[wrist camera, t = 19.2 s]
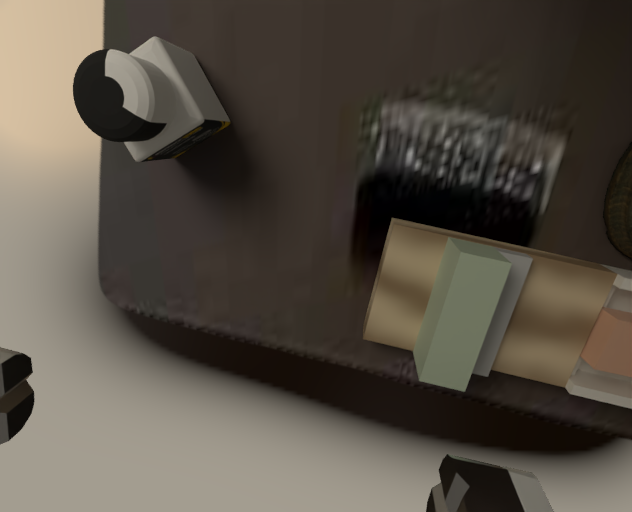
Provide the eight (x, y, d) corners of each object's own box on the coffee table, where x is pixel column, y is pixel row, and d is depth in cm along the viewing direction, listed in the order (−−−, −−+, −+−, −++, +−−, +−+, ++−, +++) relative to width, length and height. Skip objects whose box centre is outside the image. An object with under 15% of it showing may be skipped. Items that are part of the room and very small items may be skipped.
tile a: (596, 305, 37) (618, 319, 34) (648, 316, 37) (674, 332, 34) (575, 351, 39) (594, 369, 36) (624, 362, 39) (647, 380, 36)
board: (392, 217, 39) (394, 223, 36) (598, 263, 38) (617, 273, 35) (363, 325, 43) (363, 338, 40) (551, 370, 42) (564, 387, 39)
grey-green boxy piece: (448, 236, 36) (460, 252, 31) (526, 253, 36) (551, 272, 31) (413, 351, 40) (419, 380, 35) (483, 368, 39) (499, 400, 35)
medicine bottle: (174, 159, 40) (97, 168, 29) (134, 92, 39) (37, 74, 27) (233, 123, 38) (176, 118, 27) (193, 52, 37) (116, 14, 26)
